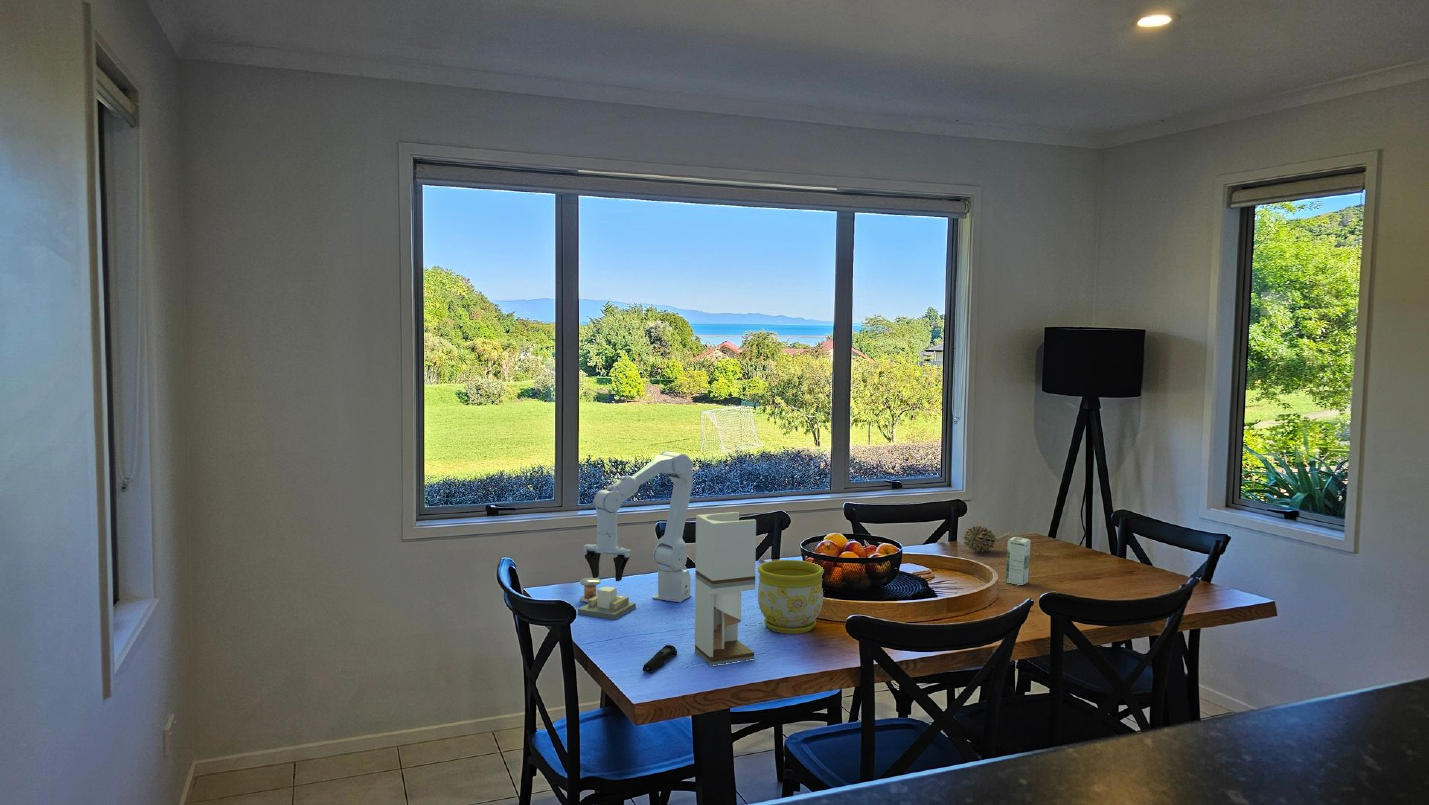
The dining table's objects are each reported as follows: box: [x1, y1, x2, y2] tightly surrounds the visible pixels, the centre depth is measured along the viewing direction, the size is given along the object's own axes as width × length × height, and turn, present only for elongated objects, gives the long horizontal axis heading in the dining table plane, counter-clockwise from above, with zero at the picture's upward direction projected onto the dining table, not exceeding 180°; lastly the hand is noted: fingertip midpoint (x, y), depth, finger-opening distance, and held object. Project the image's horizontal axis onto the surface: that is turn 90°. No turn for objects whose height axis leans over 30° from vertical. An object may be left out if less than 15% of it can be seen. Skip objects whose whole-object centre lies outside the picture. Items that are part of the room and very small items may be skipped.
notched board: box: [577, 594, 637, 621], centre depth 263 cm, size 12×12×4 cm
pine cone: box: [962, 525, 1011, 552], centre depth 339 cm, size 22×10×10 cm, turn 123°
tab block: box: [596, 586, 618, 609], centre depth 263 cm, size 4×4×5 cm
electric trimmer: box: [642, 644, 678, 673], centre depth 222 cm, size 4×16×3 cm, turn 159°
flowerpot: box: [757, 559, 824, 635], centre depth 250 cm, size 18×18×16 cm
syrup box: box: [1005, 536, 1031, 586], centre depth 295 cm, size 6×6×14 cm
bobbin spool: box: [579, 577, 601, 604], centre depth 273 cm, size 6×6×6 cm
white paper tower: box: [694, 511, 757, 667], centre depth 226 cm, size 11×11×35 cm
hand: (607, 579), depth 262 cm, fingers open, 7 cm apart
